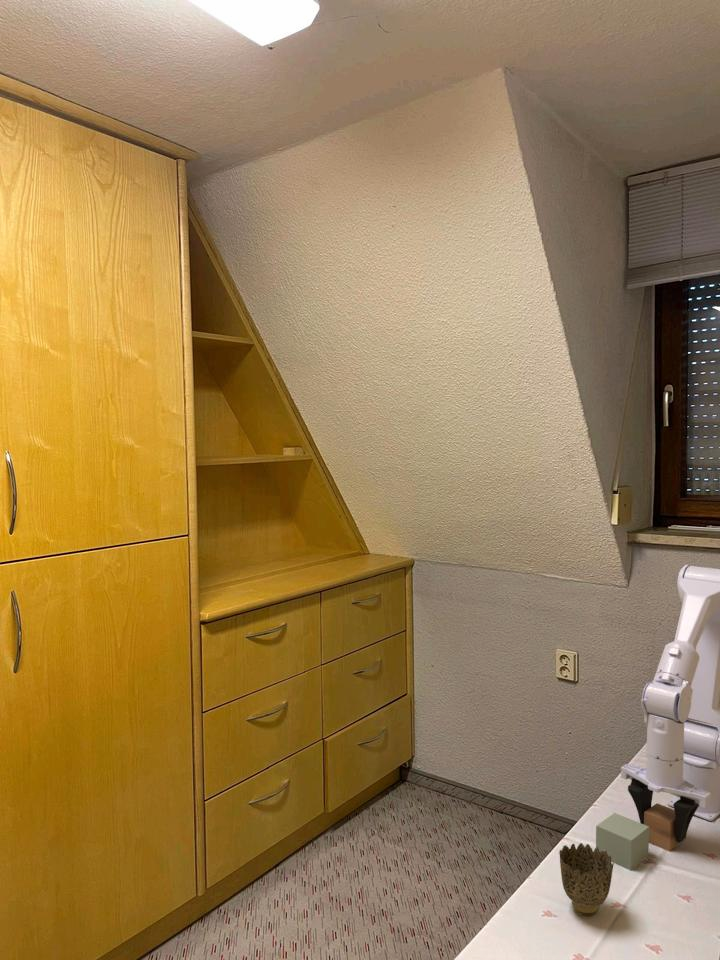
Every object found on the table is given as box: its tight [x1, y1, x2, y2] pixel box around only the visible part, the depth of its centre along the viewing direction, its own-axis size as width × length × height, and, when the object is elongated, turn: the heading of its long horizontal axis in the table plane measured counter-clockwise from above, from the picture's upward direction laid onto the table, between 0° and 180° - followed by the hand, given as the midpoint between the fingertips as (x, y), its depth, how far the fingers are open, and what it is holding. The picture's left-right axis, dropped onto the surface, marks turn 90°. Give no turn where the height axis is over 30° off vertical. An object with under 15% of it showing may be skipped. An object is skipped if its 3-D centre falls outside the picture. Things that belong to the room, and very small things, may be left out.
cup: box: [558, 843, 615, 917], centre depth 106 cm, size 8×7×8 cm
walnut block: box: [644, 803, 681, 853], centre depth 125 cm, size 4×4×5 cm
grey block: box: [595, 812, 650, 872], centre depth 120 cm, size 6×6×5 cm
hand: (662, 832), depth 125 cm, fingers open, 5 cm apart
